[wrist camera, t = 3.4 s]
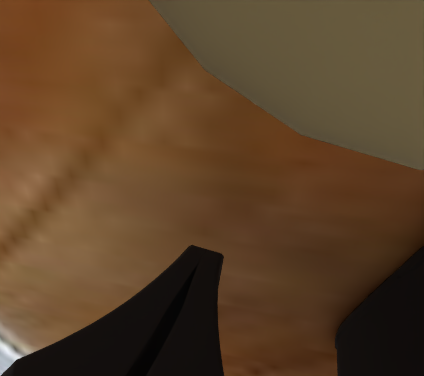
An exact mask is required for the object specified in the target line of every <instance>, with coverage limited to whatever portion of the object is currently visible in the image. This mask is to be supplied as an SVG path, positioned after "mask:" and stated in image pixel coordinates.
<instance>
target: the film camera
mask: <svg viewBox="0 0 424 376" xmlns="http://www.w3.org/2000/svg"><path fill="white" fill-rule="evenodd" d="M335 348H336V349H337V373H338V376H424V246H423V247H422V248H421V249H420V250H419V251H417V252H416V253H415V254H414V255H413V256H412V257H411V258H410V259H409V260H408V261H407V262H406V263H405V264H404V265H402V266H401V267H400V268H399V269H398V270H397V271H396V272H394V273H393V274H392V275H391V276H390V277H389V278H388V279H387V280H386V281H385V282H383V283H382V284H381V285H380V286H379V287H378V288H377V289H376V290H375V291H374V292H373V293H371V294H370V295H369V296H368V297H367V298H366V299H365V300H364V301H363V302H362V304H361V305H360V306H359V307H358V308H356V309H355V310H354V311H353V312H352V313H351V314H350V315H349V316H348V318H347V319H346V320H345V321H344V322H343V323H342V324H341V326H340V327H339V329H338V331H337V334H336V338H335Z"/></svg>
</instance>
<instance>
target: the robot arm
mask: <svg viewBox="0 0 424 376" xmlns="http://www.w3.org/2000/svg"><path fill="white" fill-rule="evenodd" d="M223 258H224V256H223V255H222V254H221V253H218V252H214V251H211V250H207V249H204V248H201V247H197V246H194V245H191V246H189V247H188V248H187V249H186V250H185V251H184V252H183V253H182V254H181V255H180V256H179V258H178V259H177V260H176V261H174V262H173V263H172V264H171V265H170V266H169V267H168V268H167V269H166V270H165V271H164V272H163V273H161V274H160V275H159V276H158V277H157V278H156V279H155V280H154V281H152V282H151V283H150V284H149V285H147V286H146V287H145V288H144V289H142V290H141V291H140V292H139V293H137V294H136V295H135V296H133V297H132V298H131V299H129V300H128V301H126V302H125V303H124V304H122V305H121V306H119V307H118V308H116V309H115V310H113V311H112V312H110V313H108V314H107V315H105V316H104V317H102V318H100V319H99V320H97V321H95V322H94V323H92V324H90V325H88V326H87V327H85V328H83V329H81V330H79V331H77V332H75V333H73V334H71V335H70V336H68V337H66V338H64V339H62V340H60V341H58V342H56V343H54V344H52V345H49V346H47V347H45V348H43V349H40V350H38V351H36V352H34V353H31V354H29V355H27V356H24V357H22V358H20V359H17V360H16V361H15V362H14V363H13V364H12V365H11V366H10V367H9V368H8V369H7V370H6V371H5V372H4V373H3V374H2V375H1V376H224V372H223V366H222V359H221V351H220V341H219V330H218V307H217V301H218V286H219V280H220V275H221V269H222V264H223Z"/></svg>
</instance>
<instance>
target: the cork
mask: <svg viewBox="0 0 424 376" xmlns="http://www.w3.org/2000/svg"><path fill="white" fill-rule="evenodd" d="M149 1H150V2H151V4H152V5H153V6H154V7H155V9H156V10H157V11H158V12H159V14H160V15H161V16H162V17H163V19H164V20H165V21H166V22H167V24H168V25H169V26H170V27H171V29H172V30H173V31H174V32H175V33H176V35H177V36H178V37H179V38H180V40H181V41H182V42H183V43H184V45H185V46H186V47H187V48H188V50H189V51H190V52H191V53H192V55H193V56H194V57H195V58H196V60H197V61H198V62H199V63H200V65H201V66H202V67H203V68H204V70H206V71H207V72H209V73H210V74H212V75H213V76H214V77H216V78H217V79H219V80H220V81H222V82H223V83H225V84H226V85H228V86H229V87H231V88H232V89H234V90H235V91H237V92H238V93H240V94H241V95H243V96H244V97H246V98H247V99H249V100H250V101H252V102H253V103H254V104H256V105H257V106H259V107H260V108H262V109H263V110H265V111H266V112H268V113H269V114H271V115H272V116H274V117H275V118H277V119H278V120H280V121H281V122H283V123H284V124H286V125H287V126H289V127H290V128H292V129H293V130H295V131H296V132H297V133H299V134H300V135H303V136H306V137H310V138H313V139H316V140H320V141H323V142H327V143H330V144H333V145H337V146H340V147H344V148H347V149H350V150H354V151H357V152H360V153H364V154H367V155H371V156H374V157H377V158H381V159H384V160H388V161H391V162H394V163H398V164H401V165H404V166H408V167H411V168H415V169H418V170H424V0H149Z"/></svg>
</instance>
